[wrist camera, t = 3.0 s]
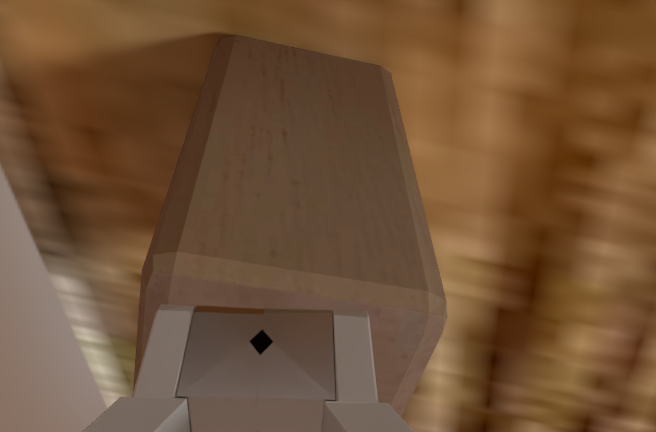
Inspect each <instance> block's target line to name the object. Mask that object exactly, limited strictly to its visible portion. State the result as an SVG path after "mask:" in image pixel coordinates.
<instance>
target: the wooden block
mask: <svg viewBox="0 0 656 432" xmlns="http://www.w3.org/2000/svg"><path fill="white" fill-rule="evenodd" d="M161 304H168V305H185V306H197V305H199V306H218V307H236V308H255V309H315V310H331V311H332V310H366V312H367V313H368V315H369V322H370V331H371V340H372V350H373V359H374V368H375V377H376V387H377V396H378V402H383V403H389V404H390V405H391V406H392V407H393V408H394V409H395V411H396V412H397V413H398V414H399V415H400V416H402V414H403V412H404V410H405V408H406V406H407V404H408V402H409V400H410V398H411V396H412V394H413V392H414V390H415V388H416V386H417V384H418V382H419V380H420V378H421V376H422V374H423V371H424V369H425V367H426V365H427V363H428V361H429V359H430V357H431V355H432V353H433V351H434V349H435V347H436V345H437V343H438V341H439V339H440V337H441V335H442V333H443V330H444V327H445V324H446V321H447V318H448V317H447V303H446V298H445V294H444V289H443V285H442V281H441V277H440V273H439V269H438V265H437V261H436V257H435V253H434V249H433V244H432V240H431V236H430V232H429V228H428V224H427V220H426V216H425V212H424V208H423V203H422V199H421V195H420V191H419V187H418V183H417V179H416V175H415V171H414V167H413V162H412V158H411V154H410V150H409V146H408V142H407V138H406V134H405V130H404V126H403V121H402V117H401V113H400V109H399V105H398V101H397V97H396V93H395V89H394V85H393V81H392V76H391V73H389V72H388V71H387V70H385V69H384V68H382V67H381V66H378V65H373V64H368V63H364V62H359V61H354V60H350V59H345V58H340V57H335V56H331V55H326V54H321V53H317V52H312V51H307V50H303V49H298V48H293V47H289V46H284V45H279V44H275V43H270V42H265V41H261V40H256V39H251V38H247V37H242V36H237V35H235V36H226V37H223V38H222V39H221V40H220V42H219V43H218V45H217V47H216V48H215V51H214V54H213V57H212V60H211V63H210V66H209V69H208V72H207V75H206V78H205V81H204V84H203V87H202V90H201V93H200V96H199V99H198V102H197V105H196V108H195V111H194V114H193V117H192V120H191V123H190V126H189V129H188V132H187V135H186V138H185V141H184V144H183V147H182V151H181V154H180V157H179V160H178V163H177V166H176V169H175V172H174V175H173V178H172V181H171V184H170V187H169V190H168V193H167V196H166V199H165V202H164V205H163V208H162V211H161V214H160V217H159V220H158V223H157V226H156V229H155V232H154V235H153V238H152V241H151V244H150V247H149V251H148V254H147V257H146V260H145V263H144V266H143V269H142V276H141V290H140V304H139V318H138V331H137V345H136V359H135V373H134V387H133V391H134V388H135V384H136V381H137V377H138V374H139V370H140V367H141V363H142V359H143V356H144V352H145V349H146V345H147V342H148V338H149V335H150V331H151V328H152V324H153V321H154V317H155V313H156V311H157V310H158V308H159V307H160V305H161Z"/></svg>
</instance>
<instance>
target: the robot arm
mask: <svg viewBox="0 0 656 432" xmlns="http://www.w3.org/2000/svg"><path fill="white" fill-rule="evenodd" d="M82 432H414V431H413V430H412V429H411V428H410V427H409V426H408V425H407V423H406V422H405V421H404V420H403V419H402V418H401V416H400V415H399V414H398V413H397V412H396V411H395V409H394V408H393V407H392V406H391V405H390V404H389V403H383V402H378V396H377V387H376V377H375V368H374V359H373V350H372V340H371V331H370V322H369V315H368V313H367V312H366V310H332V311H331V310H315V309H255V308H236V307H218V306H199V305H197V306H185V305H168V304H161V305H160V307H159V308H158V310H157V311H156V313H155V317H154V321H153V324H152V328H151V331H150V335H149V338H148V342H147V345H146V349H145V352H144V356H143V359H142V363H141V367H140V370H139V374H138V377H137V381H136V384H135V388H134V391H133V395H132V397H120V398H119V399H118V400H117V401H116V402H115V403H114V404H112V405H111V406H110V407H109V408H108V409H107V410H106V411H105V412H104V413H103V414H101V415H100V416H99V417H98V418H97V419H96V420H95V421H94V422H92V423H91V424H90V425H89V426H88V427H87V428H86V429H85V430H84V431H82Z"/></svg>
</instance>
